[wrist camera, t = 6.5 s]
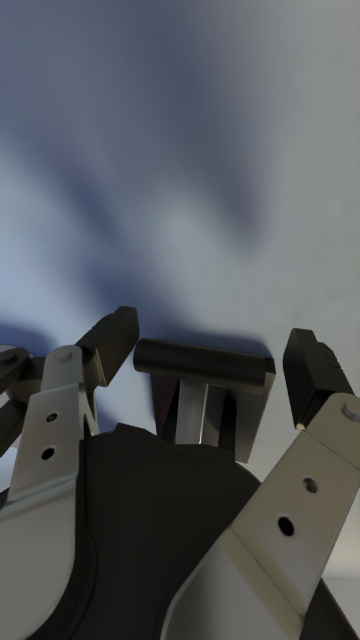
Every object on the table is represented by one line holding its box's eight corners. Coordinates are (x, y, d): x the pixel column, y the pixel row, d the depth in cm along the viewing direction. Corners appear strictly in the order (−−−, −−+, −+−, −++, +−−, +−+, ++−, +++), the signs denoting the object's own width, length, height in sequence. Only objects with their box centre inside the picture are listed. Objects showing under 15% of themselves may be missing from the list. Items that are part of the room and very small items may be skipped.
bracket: (154, 339, 18) (41, 534, 8) (274, 358, 16) (318, 645, 6) (161, 427, 24) (104, 594, 14) (247, 448, 22) (247, 656, 12)
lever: (150, 330, 10) (127, 347, 8) (261, 346, 9) (270, 372, 7) (141, 532, 14) (123, 585, 11) (223, 561, 13) (221, 626, 10)
